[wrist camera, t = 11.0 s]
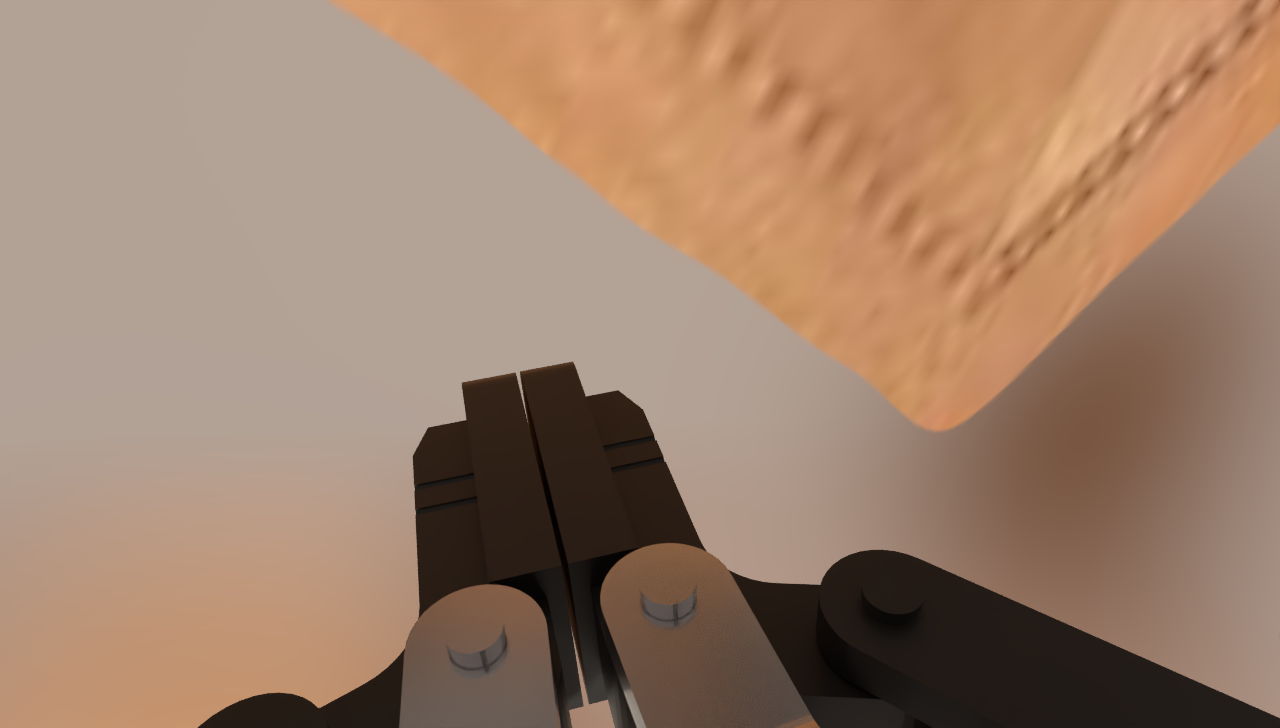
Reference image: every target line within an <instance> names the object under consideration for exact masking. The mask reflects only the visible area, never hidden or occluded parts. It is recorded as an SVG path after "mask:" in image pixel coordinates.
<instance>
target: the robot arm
mask: <svg viewBox="0 0 1280 728" xmlns="http://www.w3.org/2000/svg"><path fill="white" fill-rule="evenodd" d="M520 375H521V376H520V377H521V383H522V390H523V396H524V402H525V408H526V414H527V418H526V414H525V410H524V405H523V401H522V397H521V393H520V389H519V384H518V381H517V376H516V373H511V374H506V375H501V376H495V377H490V378H484V379H479V380H474V381H468V382H463V383H462V389H463V397H464V404H465V411H466V419H467V420H465V421H460V422H455V423H450V424H444V425H440V426H434V427H429V428H428V429H427V431H426V433H425V435H424V436H423V438H422V440H421V442H420V444H419V446H418V447H417V449H416V451H415V453H414V455H413V469H414V486H415V510H416V535H417V558H418V578H419V579H418V580H419V602H420V609H419V618H418V620H417V622H416V623H415V625H414V626H413V628H412V630H411V631H410V634H409V636H408V639H407V641H406V646H405V649H404V650H403V652H402V653H401V654H400V655H399V656H398V658H397V659H396V660H395V661H394V662H393V663H392V664H391V665H390V666H389V667H388V668H387V669H385V670H384V671H383V672H381V673H380V674H379V675H378V676H376V677H375V678H373V679H372V680H370V681H368V682H367V683H365V684H363V685H362V686H360V687H358V688H356V689H355V690H353V691H351V692H349V693H347V694H345V695H343V696H341V697H340V698H338V699H336V700H334V701H332V702H330V703H328V704H327V705H325V706H323V707H321V708H317V707H316V706H315V705H314V704H313V703H312V702H310V701H308V700H307V699H305V698H303V697H300V696H297V695H294V694H286V693H267V694H263V695H257V696H253V697H250V698H247V699H244V700H241V701H239V702H237V703H234V704H232V705H230V706H228V707H226V708H225V709H223V710H221V711H219V712H218V713H216V714H215V715H213V716H212V717H210V718H209V719H208V720H206V721H205V722H204V723H203V724H201V725H200V726H199V727H198V728H572V725H571V719H570V713H569V710H571V709H575V708H578V707H582V706H583V700H582V694H581V687H580V681H579V674H578V668H577V662H576V655H575V649H574V642H573V637H574V640H575V645H576V650H577V654H578V658H579V663H580V667H581V671H582V676H583V680H584V684H585V688H586V692H587V697H588V701H589V704H592V703H596V702H600V701H604V700H608V701H609V705H610V710H611V714H612V717H613V721H614V725H615V728H1280V718H1278V717H1276V716H1273V715H1271V714H1269V713H1267V712H1265V711H1262V710H1260V709H1258V708H1255V707H1253V706H1251V705H1248V704H1246V703H1244V702H1242V701H1239V700H1237V699H1235V698H1233V697H1230V696H1228V695H1226V694H1224V693H1222V692H1219V691H1217V690H1215V689H1212V688H1210V687H1208V686H1206V685H1203V684H1201V683H1199V682H1197V681H1194V680H1192V679H1190V678H1187V677H1185V676H1183V675H1181V674H1178V673H1176V672H1174V671H1172V670H1170V669H1167V668H1165V667H1163V666H1160V665H1158V664H1156V663H1154V662H1151V661H1149V660H1147V659H1145V658H1142V657H1140V656H1138V655H1136V654H1133V653H1131V652H1128V651H1126V650H1124V649H1122V648H1120V647H1117V646H1115V645H1113V644H1111V643H1108V642H1106V641H1104V640H1102V639H1099V638H1097V637H1095V636H1092V635H1090V634H1088V633H1085V632H1083V631H1081V630H1079V629H1077V628H1074V627H1072V626H1070V625H1068V624H1065V623H1063V622H1061V621H1059V620H1056V619H1054V618H1052V617H1049V616H1047V615H1045V614H1043V613H1041V612H1038V611H1036V610H1034V609H1032V608H1029V607H1027V606H1025V605H1022V604H1020V603H1018V602H1015V601H1013V600H1011V599H1009V598H1007V597H1004V596H1002V595H1000V594H998V593H995V592H993V591H991V590H988V589H986V588H984V587H982V586H979V585H977V584H975V583H973V582H970V581H968V580H966V579H964V578H961V577H959V576H957V575H955V574H952V573H950V572H947V571H945V570H943V569H941V568H939V567H936V566H934V565H932V564H930V563H927V562H925V561H923V560H921V559H918V558H915V557H913V556H910V555H907V554H904V553H899V552H896V551H888V550H869V551H862V552H857V553H854V554H851V555H848V556H846V557H844V558H842V559H840V560H839V561H838V562H836V563H835V564H833V565H832V566H831V568H830V569H829V570H828V571H827V572H826V574H825V576H824V577H823V579H822V582H821V585H809V584H781V583H768V582H761V581H756V580H752V579H749V578H746V577H743V576H740V575H738V574H736V573H733V572H732V571H729V570H728V569H727V568H726V566H725V565H724V564H723V563H722V562H721V561H720V560H718V559H717V558H716V557H714V556H713V555H711V554H710V553H708V552H707V551H706V550H705V548H704V547H703V545H702V543H701V541H700V539H699V537H698V535H697V532H696V530H695V528H694V526H693V523H692V521H691V519H690V516H689V514H688V512H687V510H686V507H685V505H684V503H683V500H682V498H681V496H680V493H679V491H678V489H677V487H676V484H675V482H674V480H673V477H672V475H671V473H670V470H669V468H668V466H667V464H666V462H664V458H663V455H662V453H661V450H660V448H659V445H658V443H657V441H655V438H654V434H653V432H652V429H651V427H650V425H649V423H648V420H647V418H646V416H645V413H644V411H643V409H641V408H640V407H639V406H638V405H636V404H635V403H634V402H632V401H631V400H630V399H629V398H627V397H626V396H625V395H623V394H622V393H621V392H620V391H612V392H607V393H602V394H597V395H592V396H587V397H586V396H585V393H584V390H583V387H582V385H581V382H580V379H579V376H578V373H577V370H576V368H575V365H574V363H573V362H569V363H563V364H558V365H553V366H547V367H542V368H536V369H531V370H526V371H521V372H520ZM527 420H528V422H527ZM571 628H572V630H571ZM572 632H573V636H572Z"/></svg>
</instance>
